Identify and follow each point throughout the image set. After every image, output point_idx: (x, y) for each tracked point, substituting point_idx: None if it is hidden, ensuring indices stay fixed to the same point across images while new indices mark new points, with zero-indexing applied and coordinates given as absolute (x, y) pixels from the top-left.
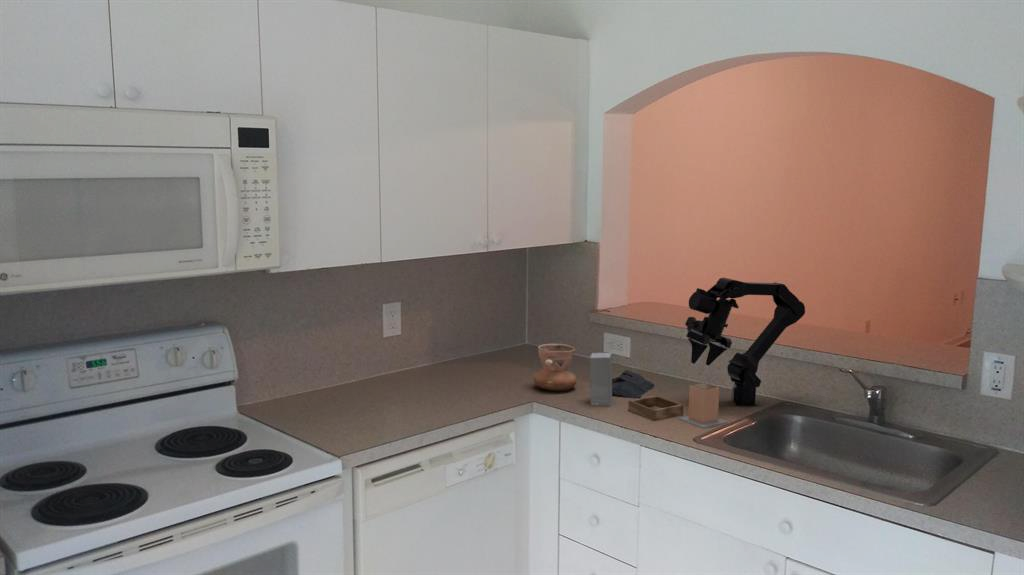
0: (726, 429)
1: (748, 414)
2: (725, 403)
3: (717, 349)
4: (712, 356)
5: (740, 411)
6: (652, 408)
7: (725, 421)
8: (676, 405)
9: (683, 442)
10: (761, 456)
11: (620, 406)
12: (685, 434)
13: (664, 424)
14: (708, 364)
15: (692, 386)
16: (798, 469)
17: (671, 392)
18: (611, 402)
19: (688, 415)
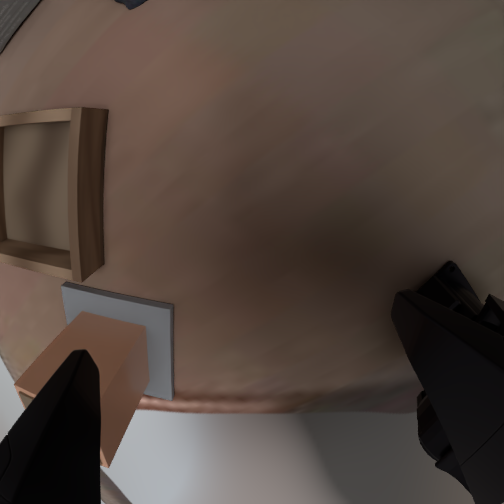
0: (140, 405)
1: (321, 388)
2: (393, 270)
3: (490, 470)
4: (448, 391)
5: (334, 359)
6: (61, 141)
7: (167, 395)
8: (57, 268)
9: (11, 367)
10: (102, 471)
11: (24, 53)
12: (31, 351)
13: (20, 275)
14: (396, 320)
15: (20, 395)
16: (119, 499)
17: (348, 3)
18: (14, 27)
19: (76, 317)
